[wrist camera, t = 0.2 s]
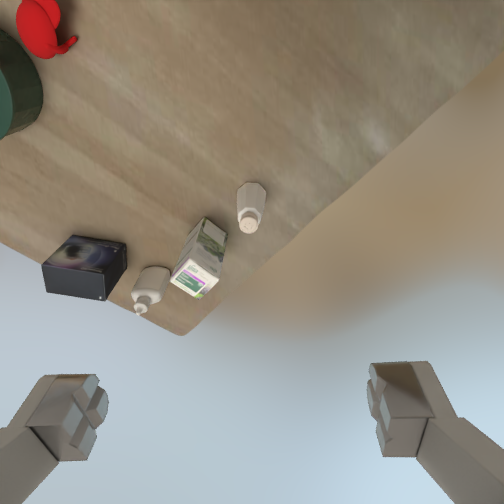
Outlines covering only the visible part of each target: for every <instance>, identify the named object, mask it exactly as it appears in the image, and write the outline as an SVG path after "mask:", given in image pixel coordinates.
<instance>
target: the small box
mask: <svg viewBox="0 0 504 504" xmlns="http://www.w3.org/2000/svg"><path fill="white" fill-rule="evenodd" d="M126 264H127V263H126V245H125V244H122V243H116V242H110V241H104V240H98V239H93V238H87V237H81V236H75V235H72V236H71V237H70V238H69V239H68V240H67V241H66V242H65V243H64V244H63V245H62V246H61V247H59V248H58V249H57V250H56V251H55V252H54V253H53V254H52V255H51V256H50V257H49V258H48V259H47V260H46V261H45V262H44V263H43V264H42V265H41V266H42V272H43V277H44V281H45V286H46V291H47V292H48V293H55V294H61V295H68V296H74V297H80V298H87V299H93V300H100V301H106V300H107V298H108V296H109V294H110V293H111V291H112V290H113V288H114V287H115V285H116V284H117V282H118V281H119V279H120V278H121V276H122V274H123V273H124V271H125V270H126V269H127V265H126Z"/></svg>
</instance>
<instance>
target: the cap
mask: <svg viewBox="0 0 504 504" xmlns="http://www.w3.org/2000/svg"><path fill="white" fill-rule="evenodd" d="M60 16H61V14H60V8H59V6H58V4H57V2H56V1H55V0H22V3H21V4H20V5H19V7H18V10H17V13H16V24H17V29H18V33H19V35H20V37H21V39H22V41H23V43H24V44H25V46H26V47H27V48H28V49H29V51H30V52H32V53H33V54H34V55H36V56H37V57H40V58H43V59H50V58H52V57H54V56H55V54H56V53H57V54H64V53H66V52H67V51H68V50H69V49H68V48H69V47H70V46H71V45H72V44H73V43H75V42H76V41H77V38H76V37H75V36H73V37H71V38H70V39H69V40H68V41H67V42H65V43H64V44H63V45H61V46H57V37H56V33H55V29H56V28H57V26H58V24H59V22H60Z"/></svg>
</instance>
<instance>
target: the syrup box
mask: <svg viewBox="0 0 504 504" xmlns="http://www.w3.org/2000/svg"><path fill="white" fill-rule="evenodd" d="M227 236H228V234H227V233H226V232H224V231H223V230H221V229H220V228H219V227H217V226H216V225H215V224H213V223H212V222H211V221H209V220H208V219H207V218H205V217H204V218H203V219H202V220H201V221H200V222H199V223H198V225H197V226H196V227H195V228H194V229H193V230H192V231H191V232H190V234H189V235H188V236H187V238H186V241H185V244H184V247H183V249H182V252H181V254H180V257H179V259H178V261H177V264H176V266H175V268H174V271H173V273H172V276H171V278H170V282H172V283H173V284H175V285H176V286H178V287H179V288H181V289H182V290H184V291H186V292H187V293H189V294H190V295H192V296H193V297H195V298H197V299H198V300H199V299H200V298H201V297H202V296H203V295H205V294H206V293H207V292H208V291H209V290H210V289H211V288H212V287H213V286H214V285H215V284H216V283H217V282H218V281H219V278H220V273H221V267H222V262H223V257H224V252H225V247H226V241H227Z"/></svg>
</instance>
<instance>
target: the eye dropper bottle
mask: <svg viewBox="0 0 504 504" xmlns="http://www.w3.org/2000/svg"><path fill="white" fill-rule="evenodd" d="M169 280H170V271H169V270H168V269H167V268H163V267H157V266H154V267H148V268H145V269H144V270H143V271H142V272H141V274H140V276H139V278H138V280H137V282H136V284H135V285H134V287H133V289H132V292H131V296H132V299H133V300H134V301H135V302H136V303H135V305H134V309H135V310H136V314H137V315H140V314H141V313H145V312H146V311H147V310H148V307H149V305H150V304H153V303H156V302H158V301H160V300H161V299H162V297H163V295H164V292H165V290H166V287H167V285H168V282H169Z"/></svg>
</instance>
